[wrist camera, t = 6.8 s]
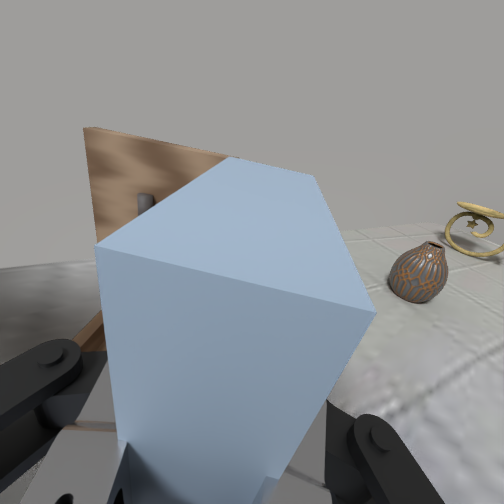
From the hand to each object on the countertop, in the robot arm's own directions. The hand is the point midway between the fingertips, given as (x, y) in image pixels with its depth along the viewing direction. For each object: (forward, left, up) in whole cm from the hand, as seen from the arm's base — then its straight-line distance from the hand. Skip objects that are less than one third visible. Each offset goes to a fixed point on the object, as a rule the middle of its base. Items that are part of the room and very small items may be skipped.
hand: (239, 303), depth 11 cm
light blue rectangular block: (0, -3, -7) cm, 8 cm away
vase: (+24, +26, -13) cm, 38 cm away
